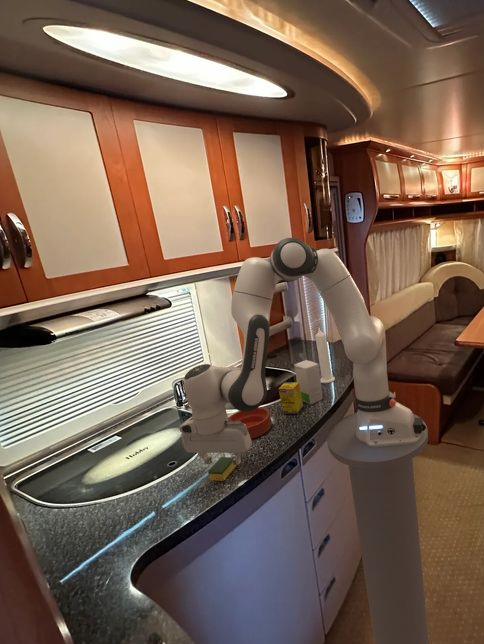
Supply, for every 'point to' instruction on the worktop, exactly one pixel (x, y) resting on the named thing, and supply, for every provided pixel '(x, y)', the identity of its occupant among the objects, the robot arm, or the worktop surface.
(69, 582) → the worktop surface
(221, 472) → the sponge
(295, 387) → the supplement box
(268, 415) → the bowl
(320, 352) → the candle
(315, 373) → the cosmetic box
